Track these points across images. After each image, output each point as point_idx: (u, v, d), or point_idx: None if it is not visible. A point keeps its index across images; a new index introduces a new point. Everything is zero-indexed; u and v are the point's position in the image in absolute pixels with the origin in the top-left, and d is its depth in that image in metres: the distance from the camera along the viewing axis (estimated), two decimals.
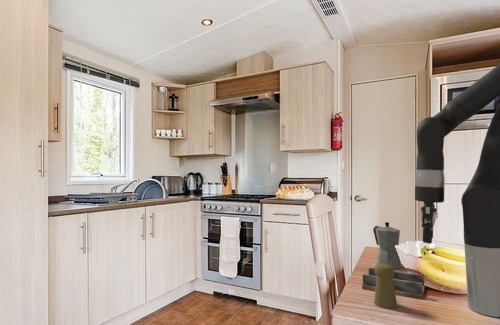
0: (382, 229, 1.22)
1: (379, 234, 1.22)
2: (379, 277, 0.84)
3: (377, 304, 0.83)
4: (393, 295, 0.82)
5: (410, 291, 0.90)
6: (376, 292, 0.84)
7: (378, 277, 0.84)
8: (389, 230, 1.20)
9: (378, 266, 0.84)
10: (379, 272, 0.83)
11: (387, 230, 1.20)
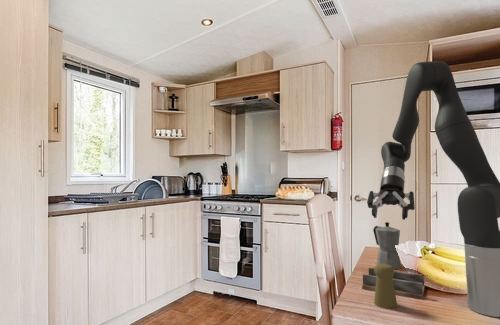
0: (382, 229, 1.22)
1: (379, 234, 1.22)
2: (379, 277, 0.84)
3: (377, 304, 0.83)
4: (393, 295, 0.82)
5: (410, 291, 0.90)
6: (376, 292, 0.84)
7: (378, 277, 0.84)
8: (389, 230, 1.20)
9: (378, 266, 0.84)
10: (379, 272, 0.83)
11: (387, 230, 1.20)
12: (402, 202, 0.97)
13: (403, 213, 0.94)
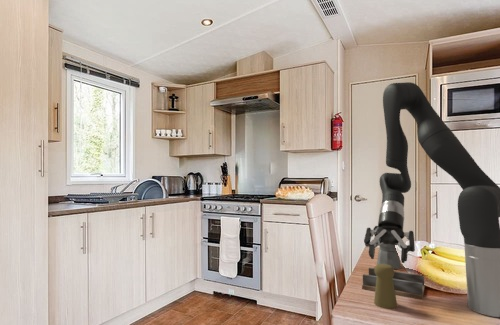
0: None
1: None
2: (379, 277, 0.84)
3: (377, 304, 0.83)
4: (393, 295, 0.82)
5: (410, 291, 0.90)
6: (376, 292, 0.84)
7: (378, 277, 0.84)
8: None
9: (378, 266, 0.84)
10: (379, 272, 0.83)
11: None
12: (401, 243, 0.90)
13: (402, 256, 0.87)
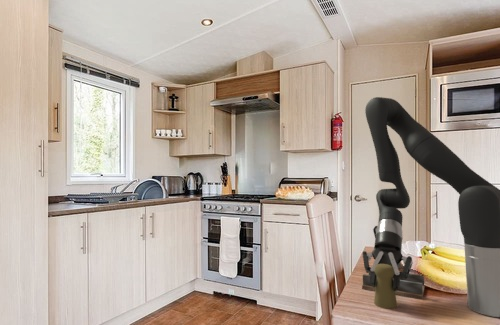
0: None
1: None
2: (379, 277, 0.84)
3: (377, 304, 0.83)
4: (393, 295, 0.82)
5: (410, 291, 0.90)
6: (376, 292, 0.84)
7: (378, 277, 0.84)
8: None
9: (378, 266, 0.84)
10: (379, 272, 0.83)
11: None
12: (395, 268, 0.84)
13: (394, 284, 0.81)
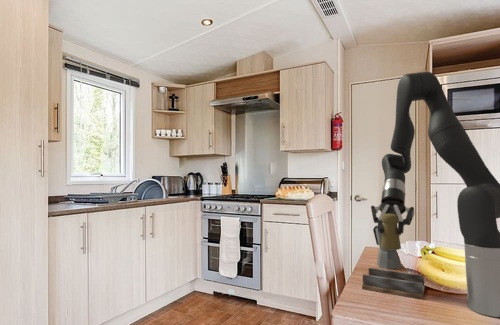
0: None
1: (379, 234, 1.22)
2: (385, 224, 0.98)
3: (384, 246, 0.97)
4: (397, 238, 0.96)
5: (410, 291, 0.90)
6: (383, 237, 0.98)
7: (385, 223, 0.98)
8: None
9: (385, 215, 0.98)
10: (386, 220, 0.97)
11: None
12: (399, 217, 0.98)
13: (399, 228, 0.96)
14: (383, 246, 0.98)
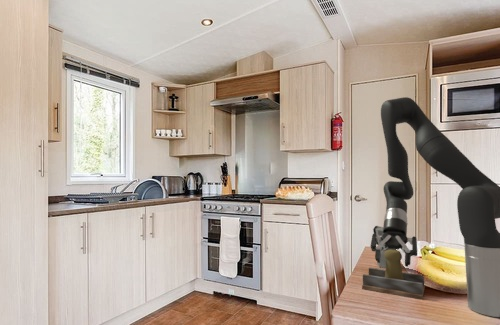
0: (382, 229, 1.22)
1: (379, 234, 1.22)
2: (388, 260, 0.97)
3: None
4: (401, 276, 0.96)
5: (410, 291, 0.90)
6: (386, 274, 0.98)
7: (388, 260, 0.98)
8: None
9: (387, 251, 0.98)
10: (389, 256, 0.97)
11: None
12: (405, 248, 0.98)
13: (406, 260, 0.95)
14: None
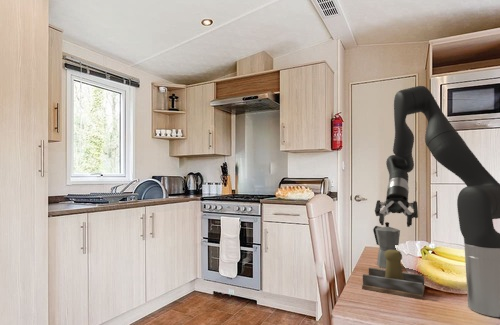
0: (382, 229, 1.22)
1: (379, 234, 1.22)
2: (388, 260, 0.97)
3: None
4: (401, 276, 0.96)
5: (410, 291, 0.90)
6: (386, 274, 0.98)
7: (388, 260, 0.98)
8: (389, 230, 1.20)
9: (388, 251, 0.98)
10: (389, 257, 0.97)
11: (387, 230, 1.20)
12: (407, 211, 1.07)
13: (408, 221, 1.04)
14: None
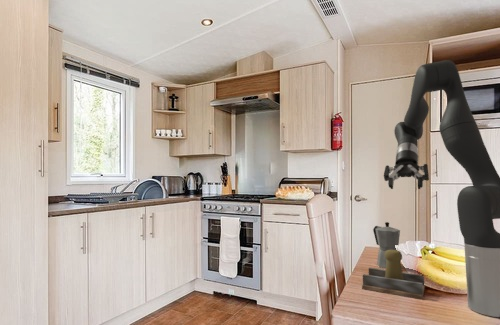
0: (382, 229, 1.22)
1: (379, 234, 1.22)
2: (388, 260, 0.97)
3: None
4: (401, 276, 0.96)
5: (410, 291, 0.90)
6: (386, 274, 0.98)
7: (388, 260, 0.98)
8: (389, 230, 1.20)
9: (388, 251, 0.98)
10: (389, 257, 0.97)
11: (387, 230, 1.20)
12: (417, 173, 1.04)
13: (418, 183, 1.01)
14: None
